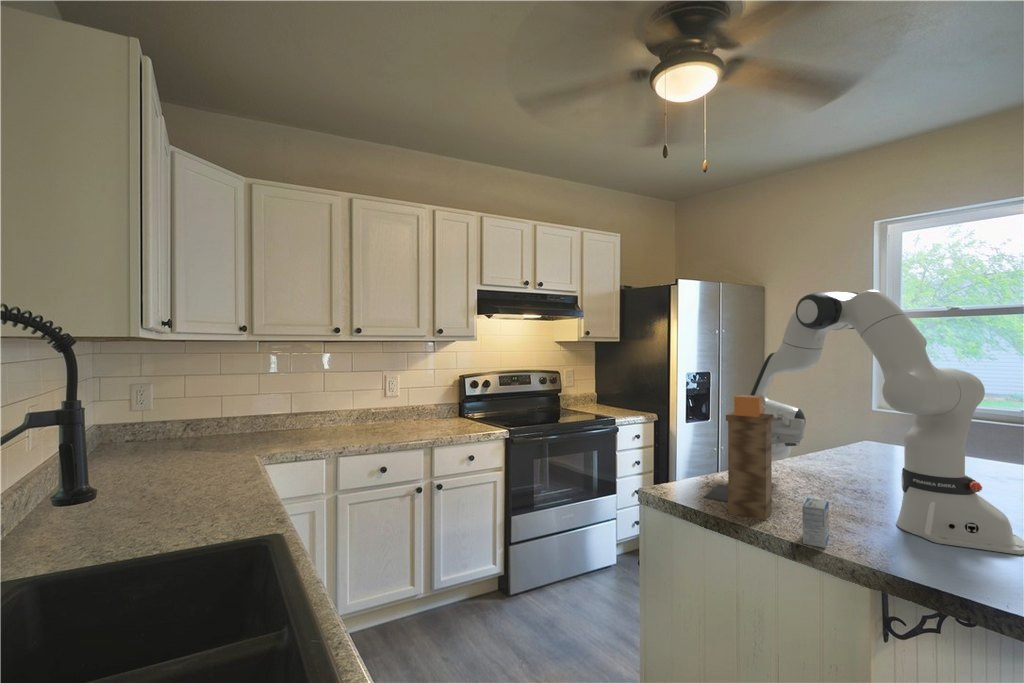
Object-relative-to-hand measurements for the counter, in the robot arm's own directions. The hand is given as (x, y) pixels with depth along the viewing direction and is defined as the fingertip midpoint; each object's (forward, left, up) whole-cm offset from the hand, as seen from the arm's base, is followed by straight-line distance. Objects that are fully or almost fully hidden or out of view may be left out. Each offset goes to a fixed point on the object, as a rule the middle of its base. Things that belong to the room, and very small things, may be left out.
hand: (762, 414), depth 143 cm
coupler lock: (0, +12, +2) cm, 12 cm away
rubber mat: (+9, +3, -24) cm, 26 cm away
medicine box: (-16, +28, -24) cm, 40 cm away
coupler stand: (0, +16, -24) cm, 29 cm away
